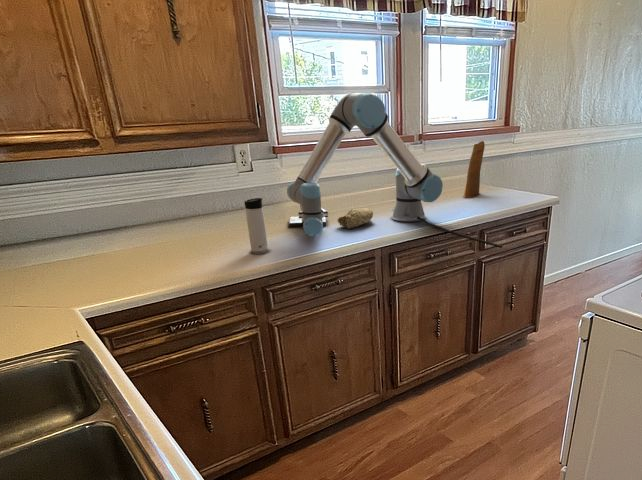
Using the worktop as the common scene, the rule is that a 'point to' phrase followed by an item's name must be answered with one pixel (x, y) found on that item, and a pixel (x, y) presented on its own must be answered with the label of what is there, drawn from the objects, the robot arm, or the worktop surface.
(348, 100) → the robot arm
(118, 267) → the worktop surface
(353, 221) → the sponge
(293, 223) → the stove panel
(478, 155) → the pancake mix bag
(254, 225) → the travel mug
